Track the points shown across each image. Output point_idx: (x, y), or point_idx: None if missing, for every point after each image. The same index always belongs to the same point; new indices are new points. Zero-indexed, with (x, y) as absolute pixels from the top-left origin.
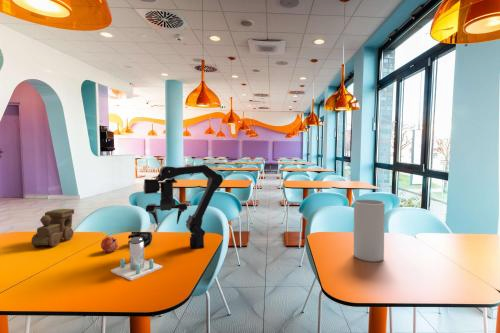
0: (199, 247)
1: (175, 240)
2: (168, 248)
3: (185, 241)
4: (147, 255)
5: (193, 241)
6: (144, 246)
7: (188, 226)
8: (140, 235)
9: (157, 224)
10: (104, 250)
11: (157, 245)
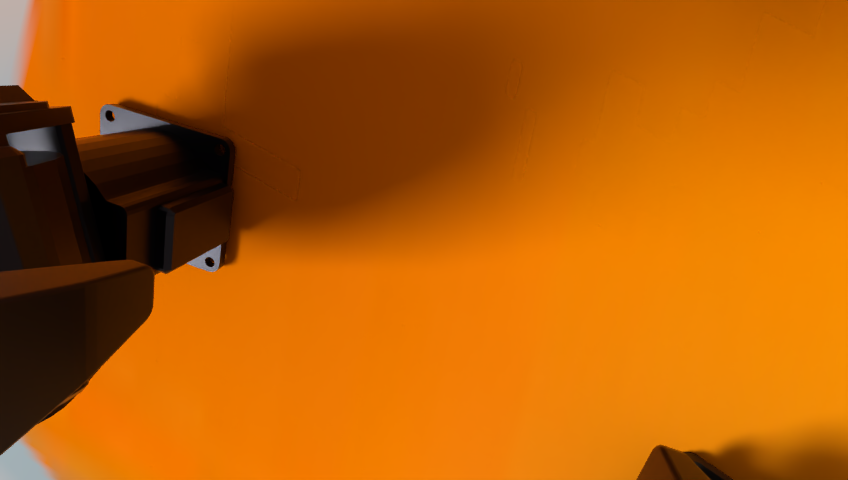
0: (148, 116)
1: (349, 472)
2: (456, 284)
3: (265, 394)
4: (745, 172)
5: (158, 170)
6: (697, 461)
7: (10, 239)
8: None
9: (677, 459)
10: None
11: (545, 436)
